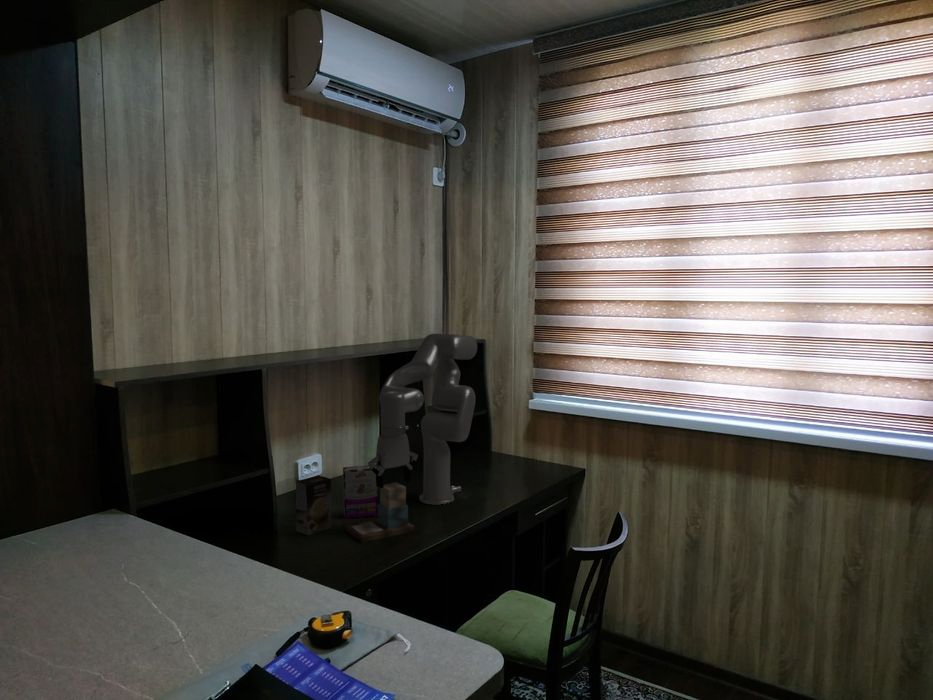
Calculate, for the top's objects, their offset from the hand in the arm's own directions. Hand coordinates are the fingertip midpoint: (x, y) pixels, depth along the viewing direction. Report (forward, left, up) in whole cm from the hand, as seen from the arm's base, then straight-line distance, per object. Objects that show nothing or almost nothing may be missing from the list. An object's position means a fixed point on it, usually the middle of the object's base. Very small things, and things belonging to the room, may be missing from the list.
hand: (393, 484), depth 213 cm
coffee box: (+22, -12, -14) cm, 29 cm away
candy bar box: (+4, -16, -14) cm, 22 cm away
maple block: (0, 0, -7) cm, 7 cm away
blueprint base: (+5, 0, -14) cm, 15 cm away
